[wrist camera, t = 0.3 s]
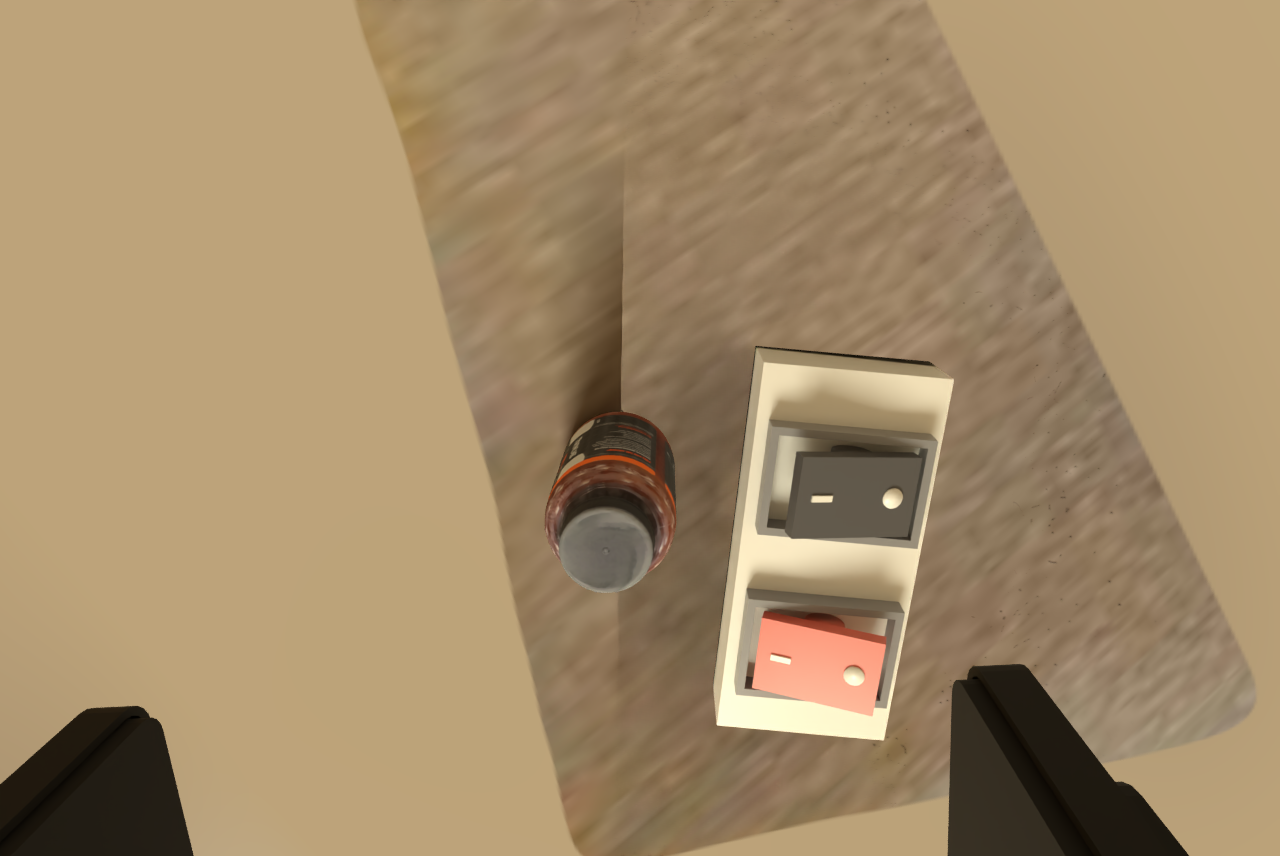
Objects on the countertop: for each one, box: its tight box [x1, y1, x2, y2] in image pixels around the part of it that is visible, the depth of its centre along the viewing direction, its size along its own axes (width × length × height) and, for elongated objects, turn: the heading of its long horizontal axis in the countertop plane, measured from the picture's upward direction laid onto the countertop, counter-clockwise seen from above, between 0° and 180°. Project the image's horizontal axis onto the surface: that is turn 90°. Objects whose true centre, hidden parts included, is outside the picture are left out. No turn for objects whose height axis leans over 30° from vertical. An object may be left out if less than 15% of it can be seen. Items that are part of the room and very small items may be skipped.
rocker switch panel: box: [713, 346, 954, 740], centre depth 45 cm, size 20×9×5 cm, turn 175°
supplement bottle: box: [545, 412, 676, 593], centre depth 41 cm, size 6×6×11 cm
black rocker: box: [785, 445, 922, 539], centre depth 41 cm, size 4×6×2 cm, turn 85°
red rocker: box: [752, 611, 886, 717], centre depth 44 cm, size 4×6×2 cm, turn 85°
